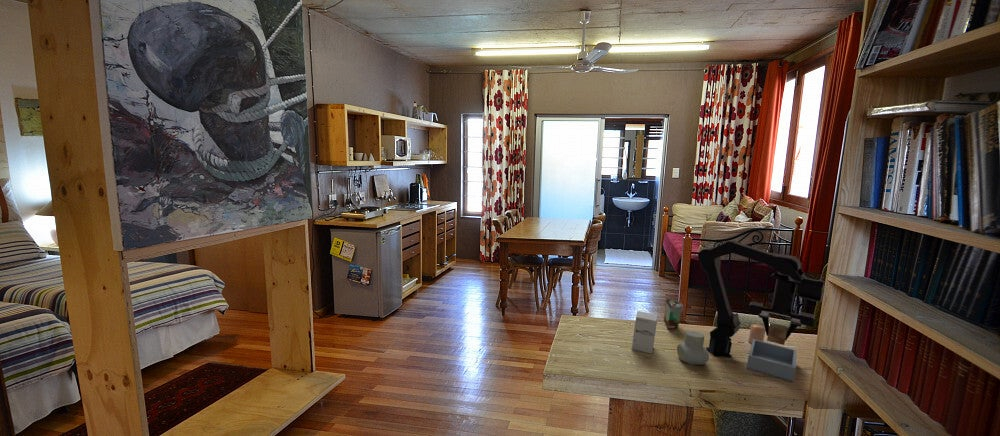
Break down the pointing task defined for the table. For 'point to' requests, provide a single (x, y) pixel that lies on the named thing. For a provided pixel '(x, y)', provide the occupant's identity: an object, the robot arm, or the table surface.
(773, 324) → the walnut cube
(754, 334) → the terracotta capsule
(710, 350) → the robot arm
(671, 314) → the food container
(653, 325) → the supplement box
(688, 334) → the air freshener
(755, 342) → the tote
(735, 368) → the table surface
